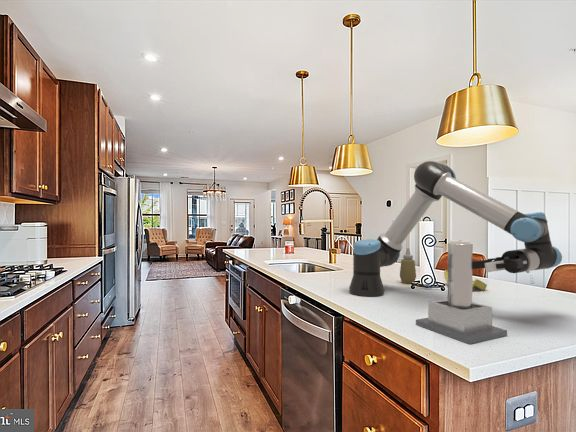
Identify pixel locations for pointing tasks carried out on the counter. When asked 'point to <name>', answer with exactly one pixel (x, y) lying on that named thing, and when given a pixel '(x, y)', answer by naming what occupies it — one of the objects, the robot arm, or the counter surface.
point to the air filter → (460, 274)
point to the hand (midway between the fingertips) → (468, 267)
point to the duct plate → (461, 322)
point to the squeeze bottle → (407, 268)
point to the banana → (475, 283)
